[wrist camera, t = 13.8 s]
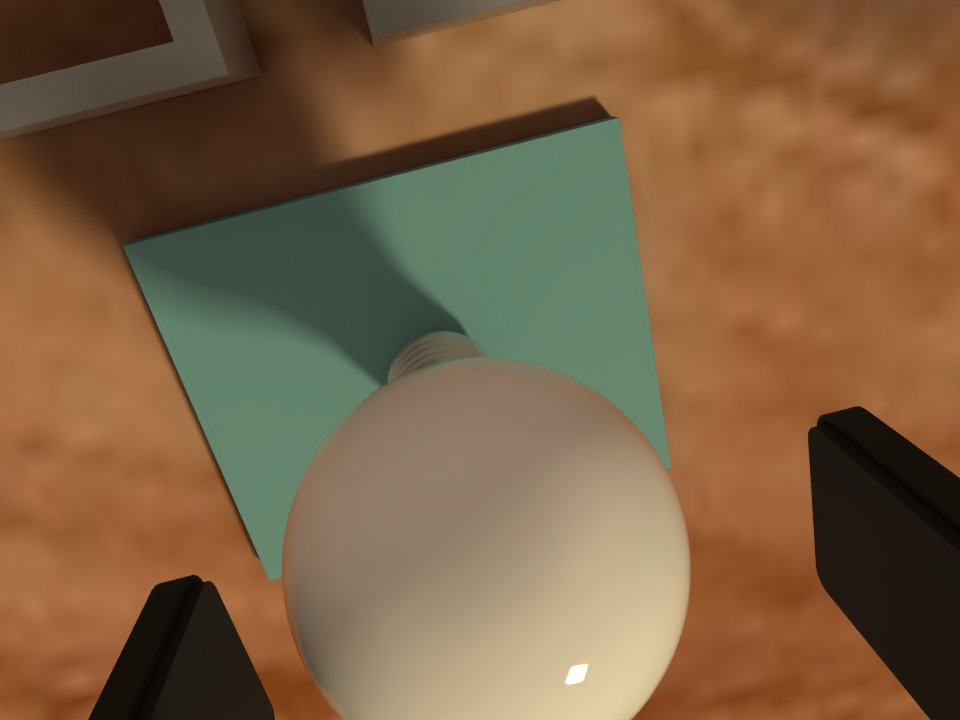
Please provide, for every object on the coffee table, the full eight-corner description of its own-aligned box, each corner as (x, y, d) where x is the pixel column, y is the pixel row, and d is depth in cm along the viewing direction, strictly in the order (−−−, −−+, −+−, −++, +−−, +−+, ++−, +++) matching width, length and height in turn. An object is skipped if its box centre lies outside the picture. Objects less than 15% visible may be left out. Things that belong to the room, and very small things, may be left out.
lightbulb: (577, 436, 20) (795, 799, 10) (360, 504, 20) (359, 948, 10) (525, 219, 18) (746, 411, 8) (276, 294, 17) (157, 596, 7)
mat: (611, 116, 18) (619, 117, 17) (663, 458, 21) (670, 468, 21) (130, 240, 17) (122, 245, 17) (272, 567, 21) (269, 581, 20)
